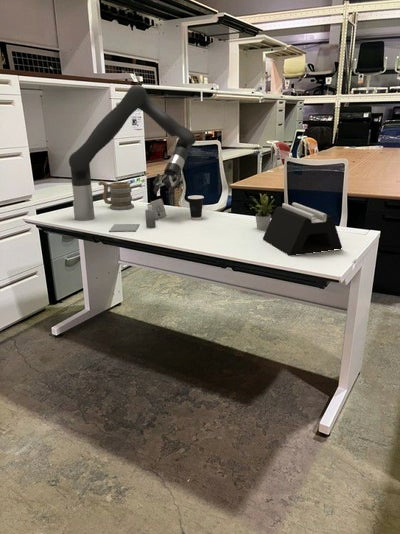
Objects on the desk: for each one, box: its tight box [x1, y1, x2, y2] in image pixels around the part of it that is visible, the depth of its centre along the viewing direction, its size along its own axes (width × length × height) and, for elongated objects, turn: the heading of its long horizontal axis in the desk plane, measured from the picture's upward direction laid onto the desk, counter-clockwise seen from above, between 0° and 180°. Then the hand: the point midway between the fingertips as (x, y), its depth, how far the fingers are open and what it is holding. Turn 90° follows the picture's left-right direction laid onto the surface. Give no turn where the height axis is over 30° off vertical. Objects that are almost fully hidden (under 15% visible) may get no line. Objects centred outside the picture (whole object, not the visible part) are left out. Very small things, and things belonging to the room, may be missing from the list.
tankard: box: [98, 180, 135, 211], centre depth 236 cm, size 20×13×15 cm, turn 69°
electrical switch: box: [146, 198, 167, 221], centre depth 212 cm, size 9×5×9 cm, turn 152°
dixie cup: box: [187, 195, 205, 221], centre depth 208 cm, size 8×8×11 cm
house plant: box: [249, 193, 275, 231], centre depth 188 cm, size 14×14×16 cm
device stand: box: [262, 202, 343, 256], centre depth 164 cm, size 22×22×15 cm
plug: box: [144, 205, 157, 229], centre depth 194 cm, size 4×4×10 cm
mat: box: [108, 223, 140, 233], centre depth 194 cm, size 12×12×1 cm
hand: (162, 193), depth 199 cm, fingers open, 8 cm apart
